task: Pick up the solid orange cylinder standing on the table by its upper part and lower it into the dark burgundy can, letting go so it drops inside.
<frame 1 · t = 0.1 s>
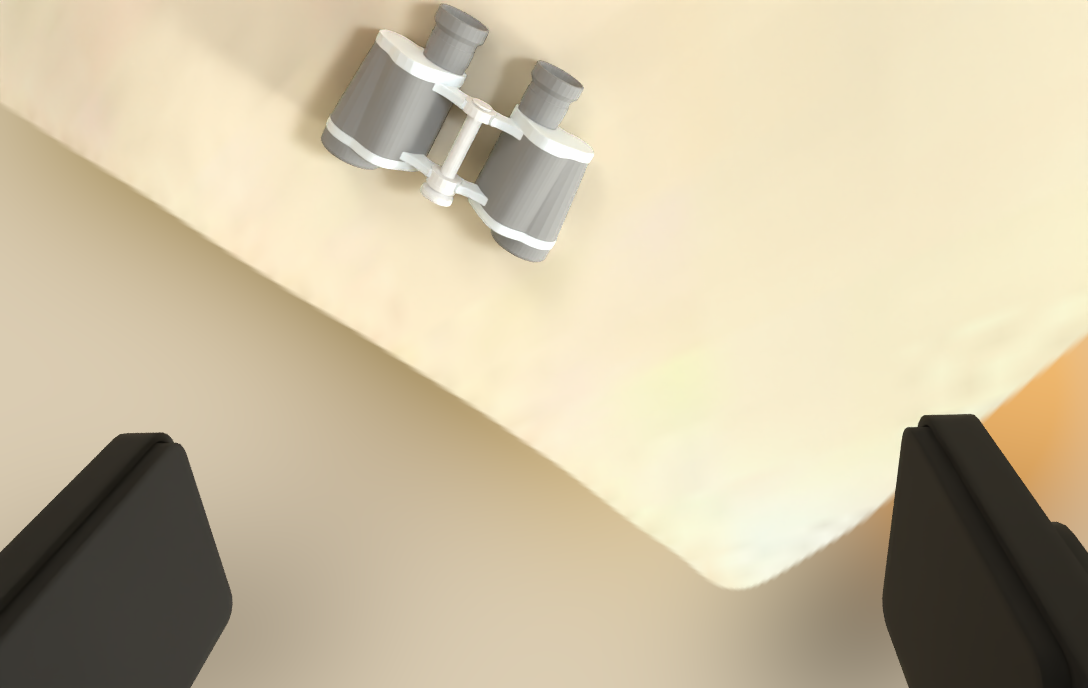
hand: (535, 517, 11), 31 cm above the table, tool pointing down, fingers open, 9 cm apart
binoculars: (478, 119, 40), on the table
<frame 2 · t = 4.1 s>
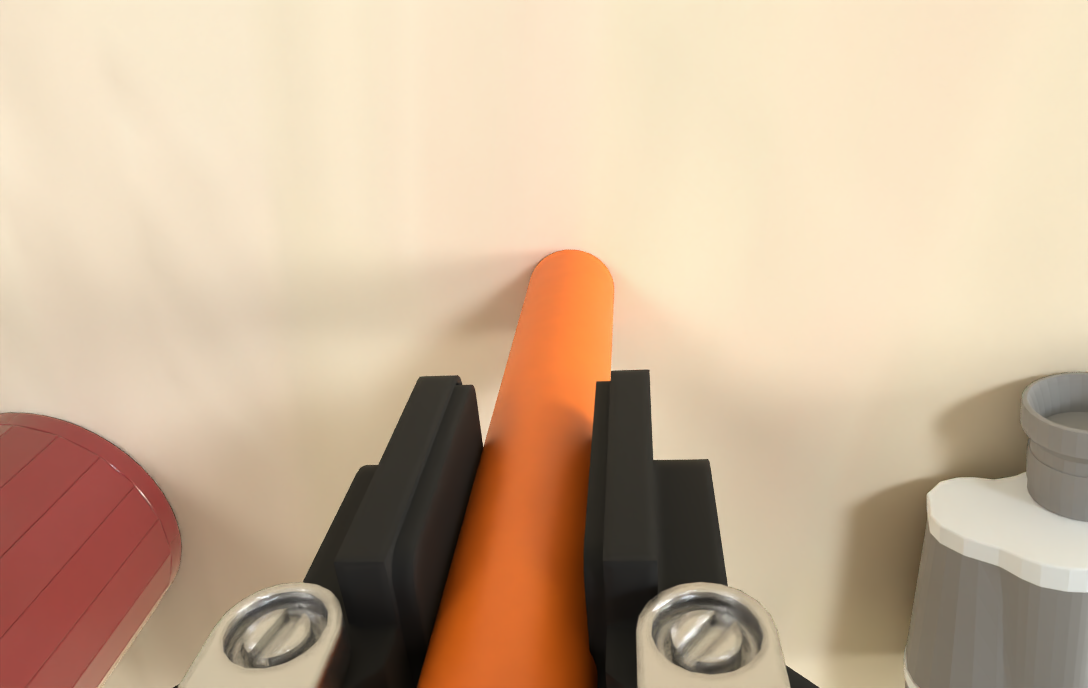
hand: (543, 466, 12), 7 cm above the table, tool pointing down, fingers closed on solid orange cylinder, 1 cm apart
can: (57, 520, 22), on the table
solid orange cylinder: (571, 288, 18), on the table, touching gripper
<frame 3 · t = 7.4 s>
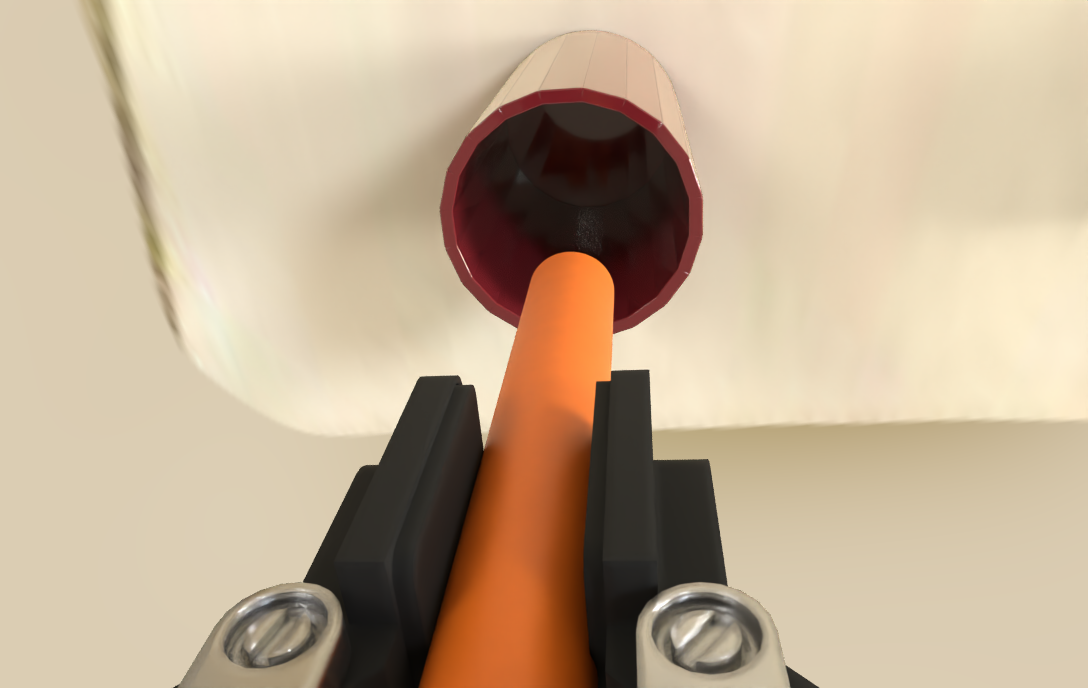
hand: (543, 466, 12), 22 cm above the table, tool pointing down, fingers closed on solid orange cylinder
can: (589, 124, 32), on the table
solid orange cylinder: (571, 290, 18), point 16 cm above the table, touching gripper
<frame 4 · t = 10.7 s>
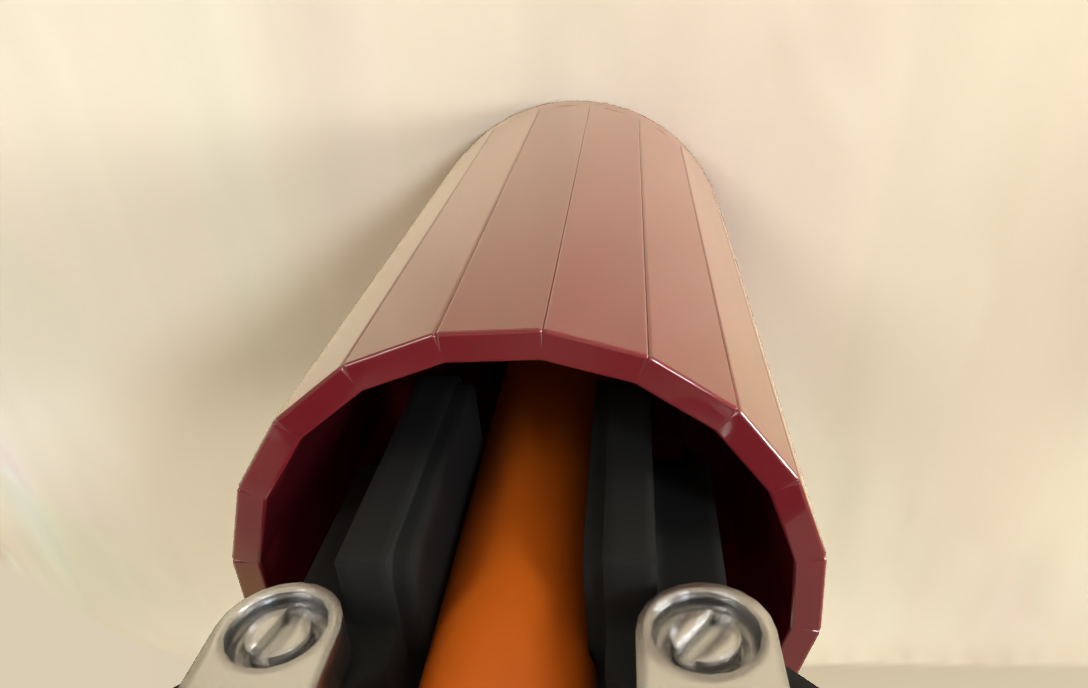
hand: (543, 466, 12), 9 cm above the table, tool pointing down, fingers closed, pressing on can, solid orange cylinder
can: (577, 245, 20), on the table
solid orange cylinder: (571, 290, 18), point 2 cm above the table, touching gripper
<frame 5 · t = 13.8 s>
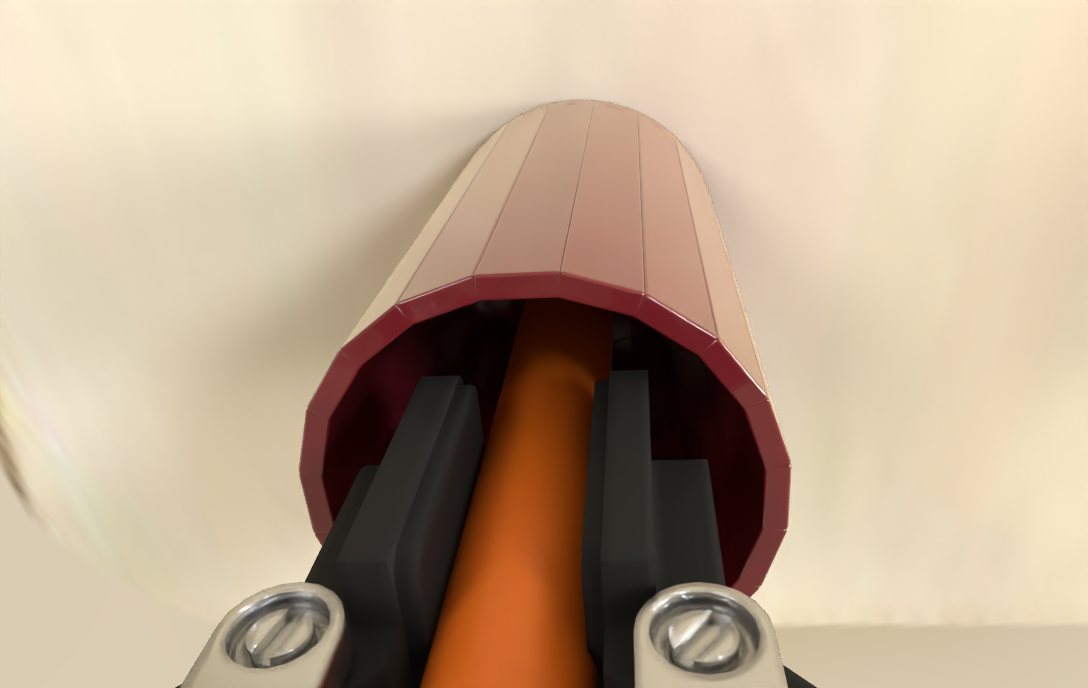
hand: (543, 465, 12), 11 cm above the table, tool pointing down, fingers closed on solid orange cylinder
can: (581, 231, 22), on the table
solid orange cylinder: (572, 290, 18), point 4 cm above the table, touching gripper
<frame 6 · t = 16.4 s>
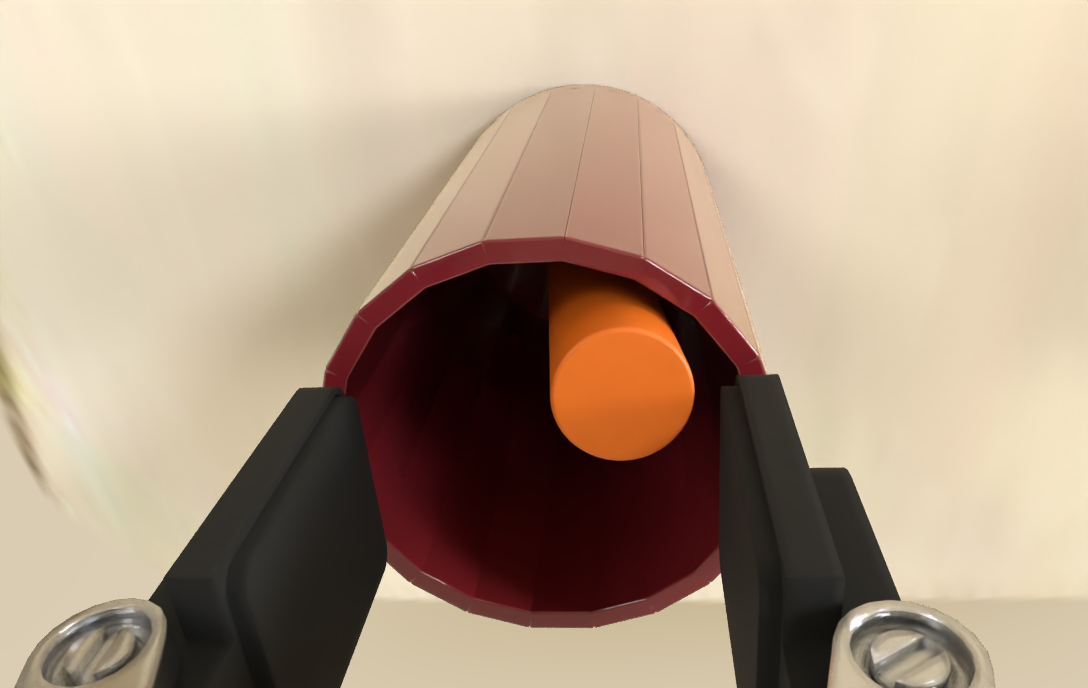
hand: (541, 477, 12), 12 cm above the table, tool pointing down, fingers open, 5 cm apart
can: (583, 213, 22), on the table
solid orange cylinder: (581, 221, 22), point 1 cm above the table, tilted 9°, touching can
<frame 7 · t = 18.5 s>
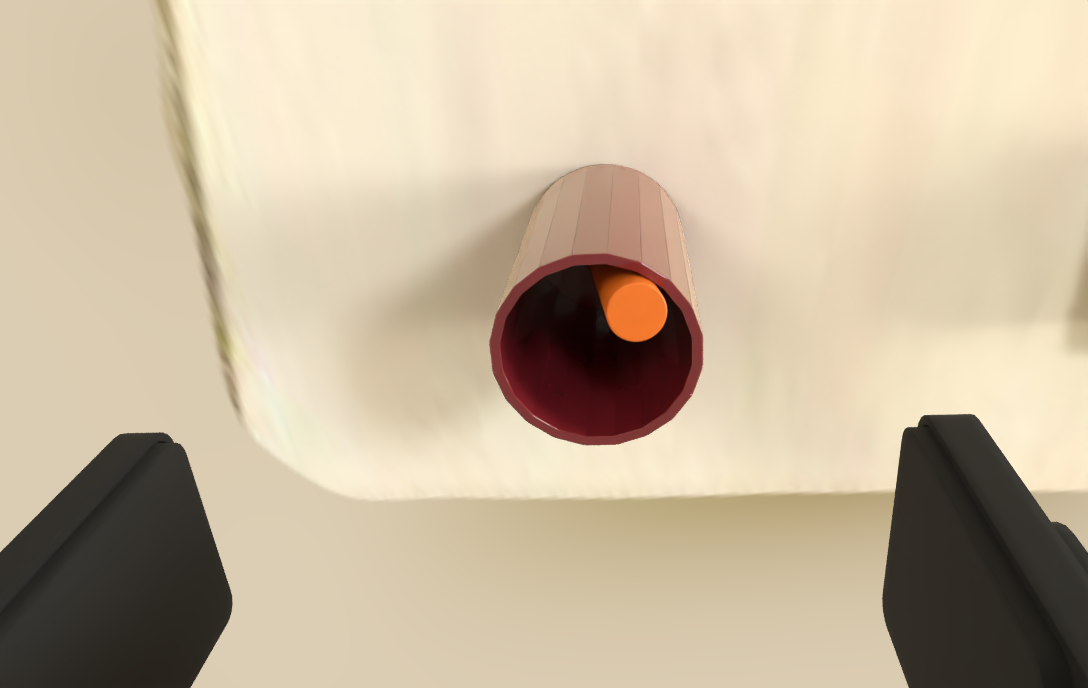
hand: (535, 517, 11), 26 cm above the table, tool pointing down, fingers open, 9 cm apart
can: (604, 239, 37), on the table
solid orange cylinder: (604, 244, 36), point 1 cm above the table, tilted 11°, touching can
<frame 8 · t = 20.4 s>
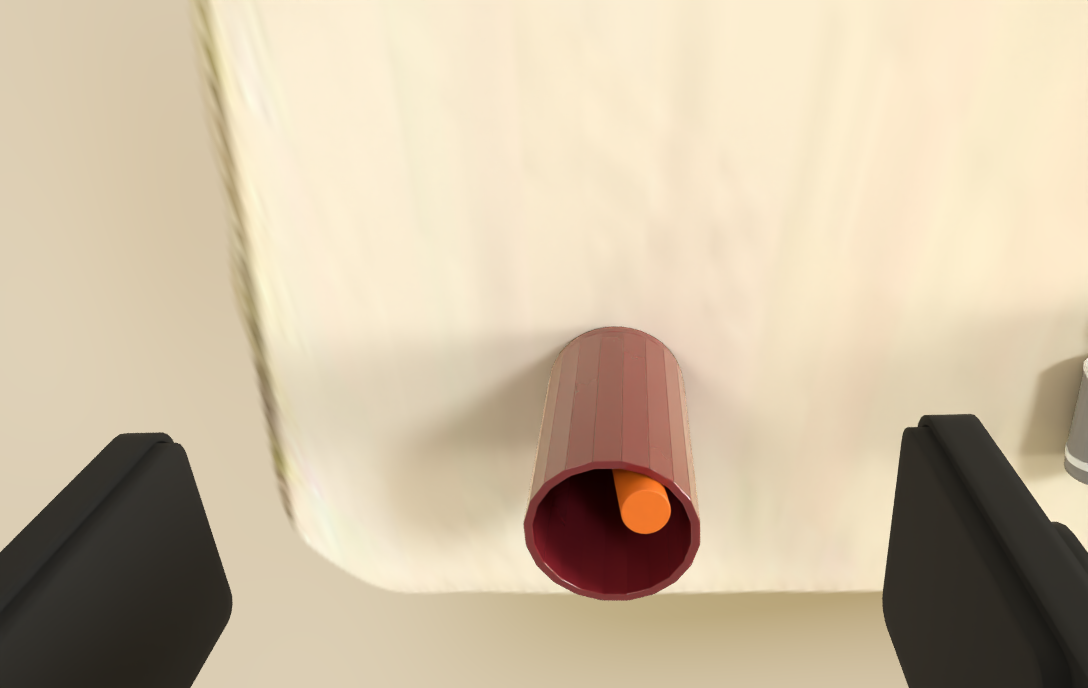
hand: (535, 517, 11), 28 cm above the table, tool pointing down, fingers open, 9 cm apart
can: (615, 386, 42), on the table
solid orange cylinder: (615, 393, 42), point 1 cm above the table, tilted 11°, touching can
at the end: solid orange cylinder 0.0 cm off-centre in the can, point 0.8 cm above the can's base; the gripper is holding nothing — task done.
